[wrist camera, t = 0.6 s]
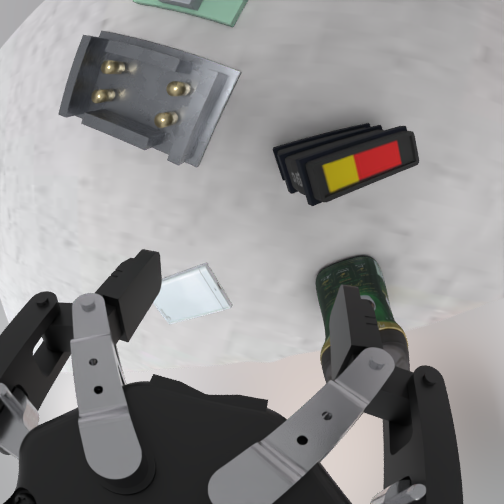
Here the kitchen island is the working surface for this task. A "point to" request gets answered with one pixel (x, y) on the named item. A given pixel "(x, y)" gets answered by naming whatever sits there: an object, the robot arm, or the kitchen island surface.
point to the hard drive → (191, 295)
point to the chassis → (148, 94)
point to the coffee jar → (372, 289)
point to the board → (203, 8)
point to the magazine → (344, 160)
